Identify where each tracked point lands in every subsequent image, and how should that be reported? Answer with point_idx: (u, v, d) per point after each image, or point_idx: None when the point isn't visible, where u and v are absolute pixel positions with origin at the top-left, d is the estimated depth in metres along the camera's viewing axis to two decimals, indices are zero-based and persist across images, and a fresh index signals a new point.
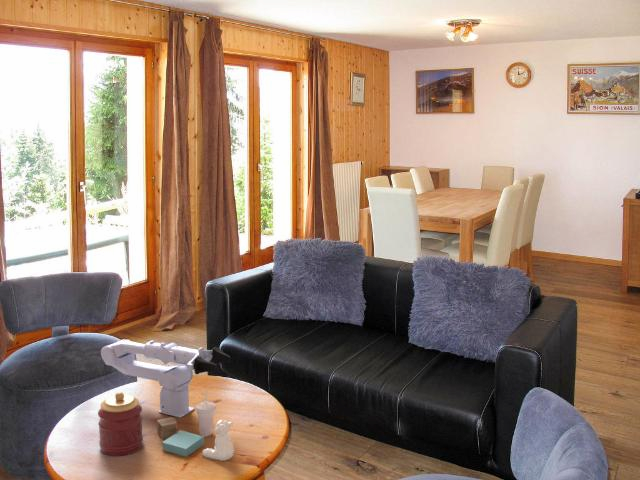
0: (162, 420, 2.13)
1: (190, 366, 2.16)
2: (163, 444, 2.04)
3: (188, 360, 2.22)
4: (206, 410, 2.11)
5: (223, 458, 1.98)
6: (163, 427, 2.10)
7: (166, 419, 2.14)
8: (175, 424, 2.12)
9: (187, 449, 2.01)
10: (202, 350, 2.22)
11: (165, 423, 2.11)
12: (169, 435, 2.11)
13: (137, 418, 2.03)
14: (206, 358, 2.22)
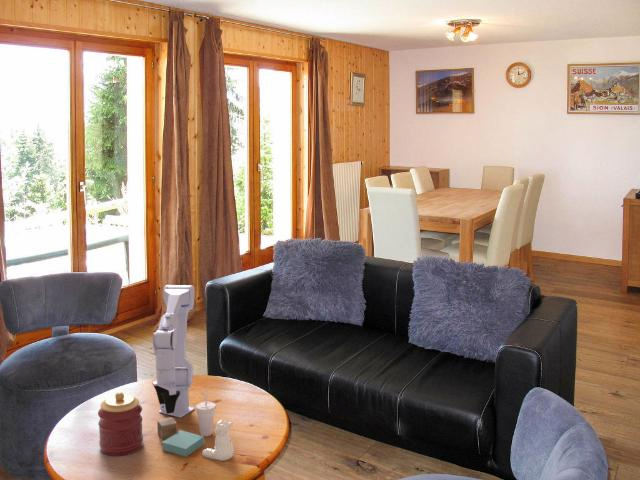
0: (162, 420, 2.13)
1: None
2: (163, 444, 2.04)
3: None
4: (206, 410, 2.11)
5: (223, 458, 1.98)
6: (163, 427, 2.10)
7: (166, 419, 2.14)
8: (175, 424, 2.12)
9: (187, 449, 2.01)
10: None
11: (165, 423, 2.11)
12: (169, 435, 2.11)
13: (137, 418, 2.03)
14: None
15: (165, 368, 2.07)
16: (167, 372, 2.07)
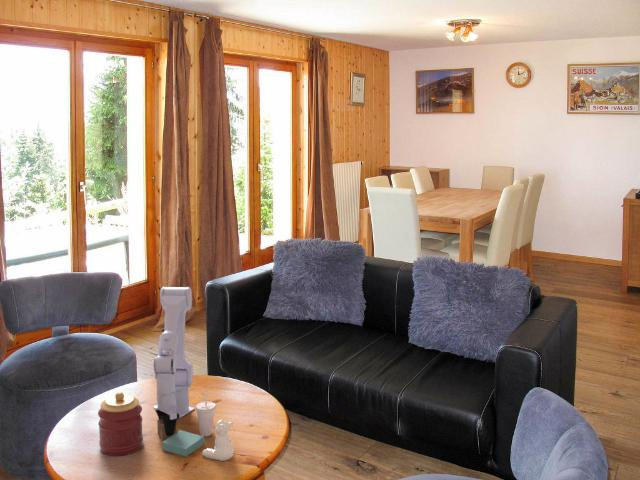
0: None
1: None
2: (163, 444, 2.04)
3: None
4: (206, 410, 2.11)
5: (223, 458, 1.98)
6: (163, 427, 2.10)
7: None
8: None
9: (187, 449, 2.01)
10: None
11: None
12: None
13: (137, 418, 2.03)
14: None
15: (166, 392, 2.08)
16: (168, 396, 2.09)
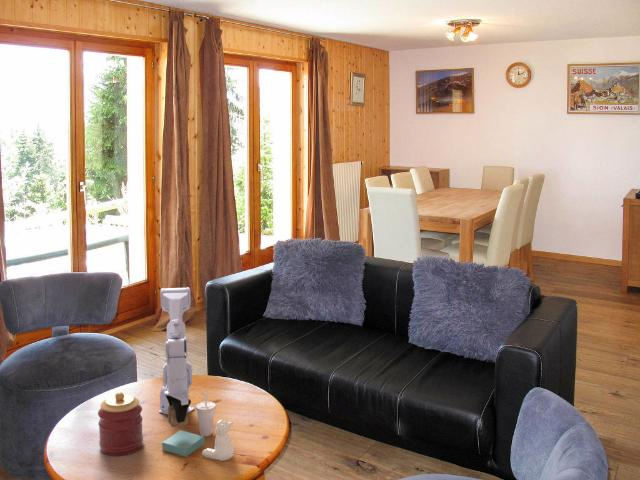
0: None
1: None
2: (163, 444, 2.04)
3: None
4: (206, 410, 2.11)
5: (223, 458, 1.98)
6: (174, 413, 2.03)
7: None
8: None
9: (187, 449, 2.01)
10: None
11: None
12: (180, 422, 2.05)
13: (137, 418, 2.03)
14: None
15: (179, 377, 2.02)
16: (179, 381, 2.02)
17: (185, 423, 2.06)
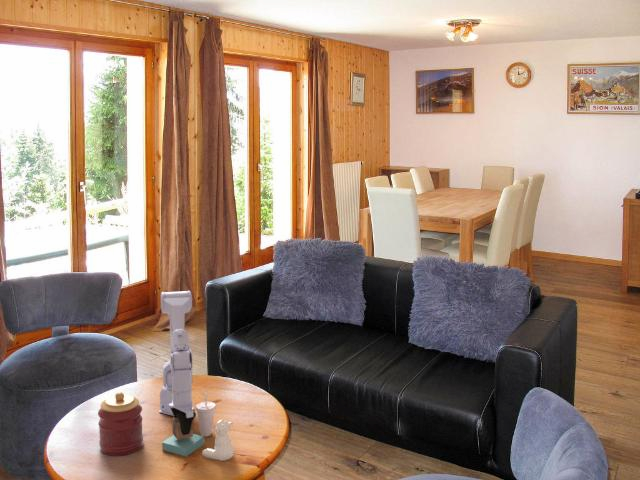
0: (177, 418, 2.06)
1: None
2: (163, 444, 2.04)
3: None
4: (206, 410, 2.11)
5: (223, 458, 1.98)
6: (179, 426, 2.02)
7: None
8: None
9: (187, 449, 2.01)
10: None
11: None
12: None
13: (137, 418, 2.03)
14: None
15: (184, 389, 2.01)
16: (184, 394, 2.01)
17: (190, 435, 2.05)
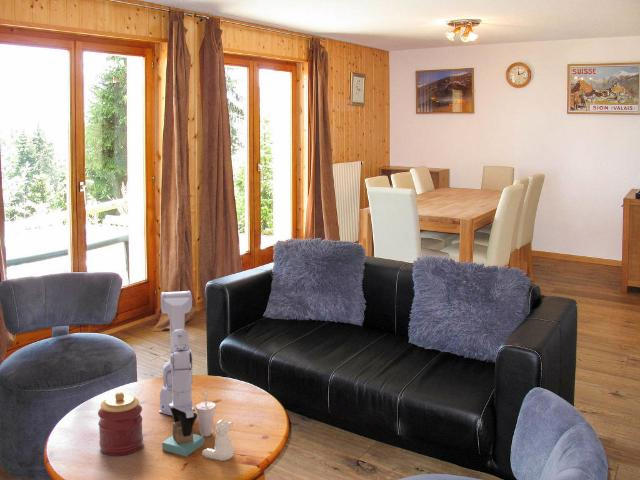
0: (178, 423, 2.06)
1: None
2: (163, 444, 2.04)
3: None
4: (206, 410, 2.11)
5: (223, 458, 1.98)
6: (179, 430, 2.02)
7: None
8: None
9: (187, 449, 2.01)
10: None
11: (181, 426, 2.04)
12: (185, 438, 2.04)
13: (137, 418, 2.03)
14: None
15: (184, 389, 2.01)
16: (184, 394, 2.01)
17: (190, 440, 2.05)
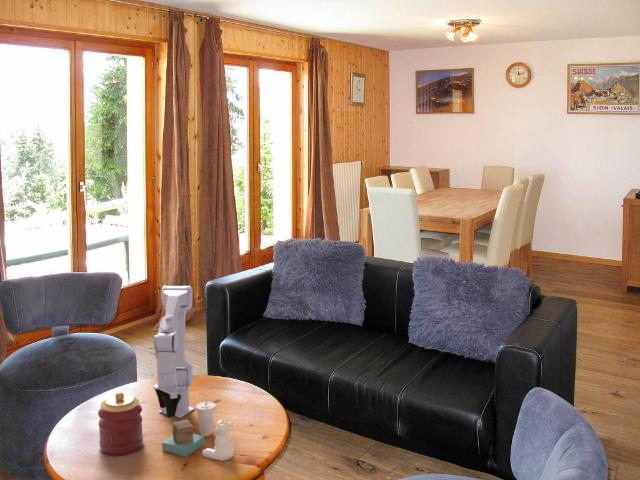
0: (178, 423, 2.06)
1: None
2: (163, 444, 2.04)
3: None
4: (206, 410, 2.11)
5: (223, 458, 1.98)
6: (179, 430, 2.02)
7: (181, 422, 2.07)
8: (191, 427, 2.04)
9: (187, 449, 2.01)
10: None
11: (181, 426, 2.04)
12: (185, 438, 2.04)
13: (137, 418, 2.03)
14: None
15: (166, 371, 2.04)
16: (168, 375, 2.04)
17: (190, 440, 2.05)
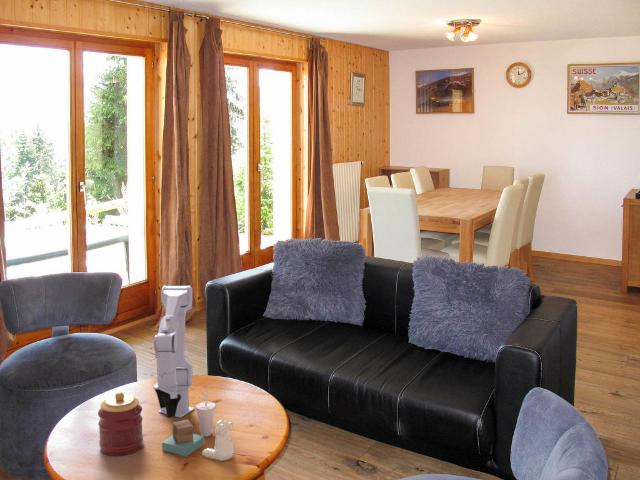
0: (178, 423, 2.06)
1: None
2: (163, 444, 2.04)
3: None
4: (206, 410, 2.11)
5: (223, 458, 1.98)
6: (179, 430, 2.02)
7: (181, 422, 2.07)
8: (191, 427, 2.04)
9: (187, 449, 2.01)
10: None
11: (181, 426, 2.04)
12: (185, 438, 2.04)
13: (137, 418, 2.03)
14: None
15: (166, 371, 2.04)
16: (168, 375, 2.04)
17: (190, 440, 2.05)
